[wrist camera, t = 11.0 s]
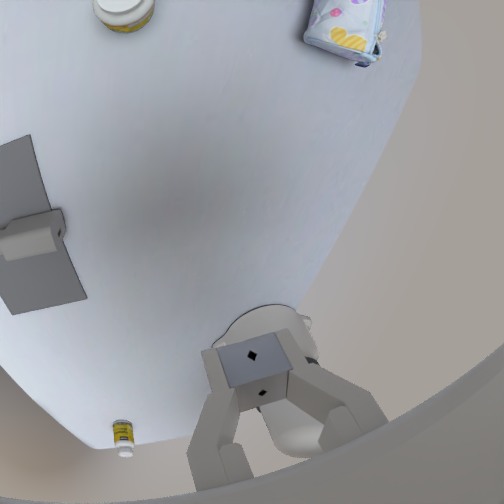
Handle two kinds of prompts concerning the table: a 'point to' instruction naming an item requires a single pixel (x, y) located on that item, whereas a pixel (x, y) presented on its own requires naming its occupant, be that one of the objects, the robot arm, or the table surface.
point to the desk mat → (39, 266)
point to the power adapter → (32, 235)
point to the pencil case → (348, 28)
